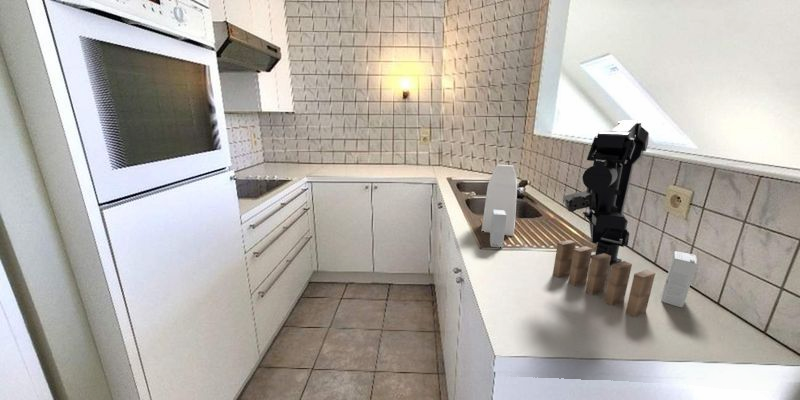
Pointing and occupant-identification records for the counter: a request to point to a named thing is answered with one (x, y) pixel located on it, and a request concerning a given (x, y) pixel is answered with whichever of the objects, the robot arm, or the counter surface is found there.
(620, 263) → the domino
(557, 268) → the domino
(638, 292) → the domino
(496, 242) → the skincare box
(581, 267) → the domino
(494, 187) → the milk
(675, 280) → the skincare box
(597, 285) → the domino
